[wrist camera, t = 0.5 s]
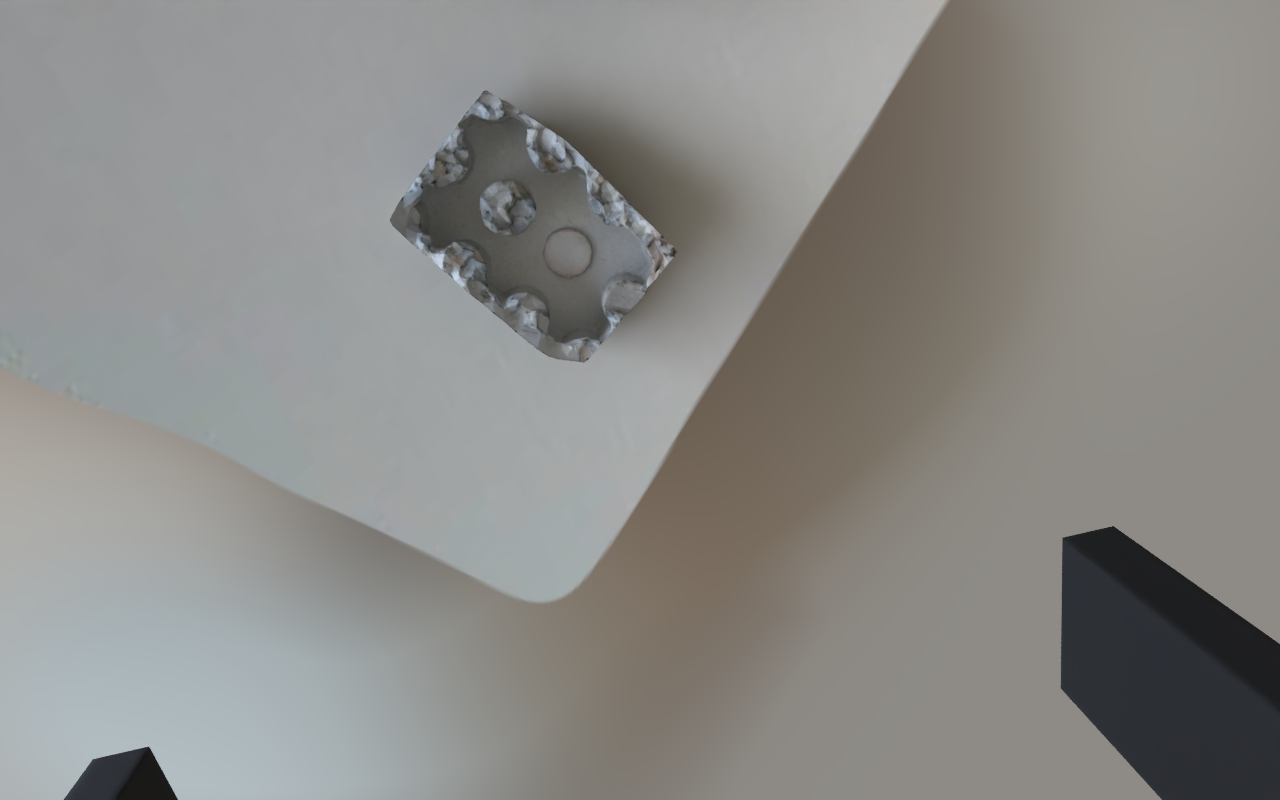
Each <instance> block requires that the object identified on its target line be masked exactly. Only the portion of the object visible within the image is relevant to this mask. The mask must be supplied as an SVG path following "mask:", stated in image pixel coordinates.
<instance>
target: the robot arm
mask: <svg viewBox="0 0 1280 800" xmlns="http://www.w3.org/2000/svg"><path fill="white" fill-rule="evenodd" d="M1062 555H1063V556H1062V637H1061V638H1062V639H1061V640H1062V642H1061V643H1062V645H1061V689H1062V690H1063V691H1064V692H1065V693H1066V694H1067V696H1068V697H1069V698H1070V699H1071V700H1072V701H1073V702H1074V703H1075V704H1076V705H1077V707H1078V708H1079V709H1080V710H1081V711H1082V712H1083V713H1084V714H1085V715H1086V716H1087V718H1088V719H1089V720H1090V721H1091V722H1092V723H1093V724H1094V725H1095V726H1096V727H1097V729H1098V730H1099V731H1100V732H1101V733H1102V734H1103V735H1104V736H1105V737H1106V738H1107V740H1108V741H1109V742H1110V743H1111V744H1112V745H1113V746H1114V747H1115V748H1116V749H1117V751H1118V752H1119V753H1120V754H1121V755H1122V756H1123V757H1124V758H1125V759H1126V760H1127V762H1128V763H1129V764H1130V765H1131V766H1132V767H1133V768H1134V769H1135V770H1136V771H1137V773H1138V774H1139V775H1140V776H1141V777H1142V778H1143V779H1144V780H1145V781H1146V782H1147V783H1148V785H1149V786H1150V787H1151V788H1152V789H1153V790H1154V791H1155V792H1156V793H1157V795H1158V796H1160V798H1161V799H1162V800H1280V644H1279V643H1277V642H1276V641H1275V640H1273V639H1272V638H1270V637H1269V636H1268V635H1266V634H1265V633H1263V632H1262V631H1260V630H1259V629H1258V628H1256V627H1255V626H1253V625H1252V624H1250V623H1249V622H1248V621H1246V620H1245V619H1243V618H1242V617H1241V616H1239V615H1238V614H1236V613H1235V612H1234V611H1232V610H1231V609H1229V608H1228V607H1227V606H1225V605H1224V604H1222V603H1221V602H1220V601H1218V600H1217V599H1215V598H1214V597H1213V596H1211V595H1210V594H1208V593H1207V592H1205V591H1204V590H1202V589H1201V588H1200V587H1198V586H1197V585H1196V584H1194V583H1193V582H1191V581H1190V580H1188V579H1187V578H1186V577H1184V576H1183V575H1181V574H1180V573H1179V572H1177V571H1176V570H1174V569H1173V568H1172V567H1170V566H1169V565H1167V564H1166V563H1164V562H1163V561H1161V560H1160V559H1159V558H1158V557H1156V556H1155V555H1153V554H1152V553H1150V552H1149V551H1148V550H1146V549H1145V548H1143V547H1142V546H1141V545H1139V544H1138V543H1136V542H1135V541H1134V540H1132V539H1130V538H1129V537H1128V536H1126V535H1125V534H1124V533H1122V532H1121V531H1119V530H1118V529H1116V528H1115V527H1114V526H1112V527H1108V528H1104V529H1099V530H1095V531H1090V532H1086V533H1082V534H1077V535H1073V536H1069V537H1065V538H1063V553H1062ZM64 800H178V799H177V797H176V795H175V793H174V792H173V790H172V788H171V786H170V784H169V782H168V781H167V779H166V777H165V775H164V773H163V771H162V770H161V768H160V766H159V764H158V762H157V761H156V759H155V757H154V755H153V753H152V751H151V749H150V748H149V747H145V748H141V749H137V750H132V751H128V752H124V753H119V754H115V755H110V756H106V757H102V758H97V759H93V760H92V762H91V763H90V764H89V766H88V767H87V768H86V770H85V771H84V773H83V774H82V775H81V777H80V778H79V780H78V781H77V782H76V784H75V785H74V786H73V788H72V789H71V790H70V792H69V793H68V795H67V796H66V797H65V799H64Z"/></svg>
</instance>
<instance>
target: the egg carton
mask: <svg viewBox="0 0 1280 800" xmlns="http://www.w3.org/2000/svg"><path fill="white" fill-rule="evenodd" d="M390 221H391V223H392V225H393V226H394V227H395V228H396V229H397V230H398V231H399V232H400V233H401V234H402V235H403V236H404V237H405V238H406V239H407V240H408V241H410V242H411V243H412V244H413V245H414V246H415V247H416V248H417V249H419V250H420V251H421V252H422V253H423V254H425V255H426V256H428V257H429V258H430V259H431V260H432V261H434V262H435V263H436V264H437V265H438V266H439V267H440V268H441V269H442V270H443V271H444V272H446V273H447V274H449V275H450V276H451V277H452V278H453V279H454V280H455V281H456V282H458V283H459V284H460V286H461V287H462V288H464V289H465V290H466V291H467V292H468V293H469V294H471V295H472V296H473V297H475V298H476V299H477V300H479V301H480V302H481V303H483V304H484V305H485V306H486V307H487V308H488V309H489V310H491V311H492V312H493V313H494V314H495V315H496V316H498V317H499V318H500V319H502V320H503V321H504V322H506V323H507V324H508V325H509V326H510V327H511V328H512V329H513V330H514V331H515V332H517V333H518V334H519V335H520V336H522V337H523V338H524V339H525V340H527V341H528V342H529V343H530V344H531V345H533V346H534V347H535V348H536V349H538V350H539V351H541V352H543V353H544V354H546V355H547V356H549V357H553V358H556V359H562V360H570V361H578V362H585V361H586V360H588V359H589V358H590V357H591V355H592V354H593V353H594V352H595V351H596V350H597V348H598V347H599V346H600V344H601V343H602V342H603V341H604V340H605V339H606V338H607V337H608V336H609V334H610V333H611V332H612V331H613V330H614V329H615V327H616V326H617V325H618V323H619V322H620V321H621V320H622V319H623V317H624V316H625V315H626V314H628V313H629V311H630V310H631V309H632V308H633V307H634V306H635V305H636V304H637V303H638V301H639V300H640V299H641V298H642V297H643V296H644V294H645V293H646V292H645V291H646V289H647V288H648V287H649V286H650V285H651V284H652V283H653V281H654V280H655V279H656V278H657V277H658V275H659V274H660V273H661V272H662V271H663V270H664V269H665V267H666V266H667V265H668V264H669V262H670V261H671V260H672V259H673V258H674V257H675V255H676V253H677V251H675V249H674V248H673V246H672V245H671V244H670V243H669V242H668V241H667V240H666V239H665V238H664V237H663V236H662V235H661V234H660V233H659V232H658V231H657V230H656V229H655V228H653V227H652V225H650V224H649V222H648V221H647V220H645V219H644V218H643V217H642V216H641V215H640V214H639V213H638V212H637V211H636V210H635V209H634V208H633V207H632V206H631V205H630V204H629V203H628V202H627V201H626V200H625V198H624V197H623V196H622V195H621V194H620V193H619V192H618V191H617V190H616V189H615V188H614V187H613V186H612V185H611V184H610V183H609V182H608V181H607V180H605V179H604V178H603V177H602V176H601V175H600V174H599V173H598V172H597V171H596V170H595V169H594V168H593V167H592V166H591V165H590V164H589V163H588V162H587V161H586V160H585V158H584V157H583V156H582V155H580V154H579V153H578V152H577V151H576V150H575V149H574V148H573V147H572V146H571V145H570V144H569V143H568V142H566V141H565V140H564V139H563V138H561V137H560V136H558V135H557V134H555V133H554V132H552V131H551V130H549V129H548V128H546V127H545V126H543V125H542V124H540V123H539V122H537V121H536V120H534V119H532V118H531V117H529V116H527V115H526V114H524V113H522V112H521V111H519V110H518V109H516V108H515V107H514V106H512V105H511V104H509V103H508V102H506V101H504V100H501V99H499V98H498V97H496V96H495V95H493V94H491V93H490V92H488V91H484V92H483V93H482V94H481V96H480V97H479V98H478V99H477V100H476V102H475V103H474V104H473V105H472V107H471V108H470V109H469V110H468V112H467V113H466V114H465V116H464V117H463V118H462V120H461V121H460V122H459V124H458V126H457V127H456V129H455V130H454V131H453V132H452V134H451V135H450V136H449V137H448V138H447V139H446V140H445V142H444V143H443V144H442V146H441V147H440V148H439V150H438V151H437V153H436V154H435V155H434V157H433V158H432V159H431V160H430V162H429V163H428V164H427V166H426V167H425V168H424V170H423V171H422V172H421V174H420V175H419V176H418V177H417V179H415V180H414V182H413V183H412V185H411V186H410V188H409V189H408V190H407V192H406V193H405V195H404V196H403V198H402V199H401V201H400V202H399V204H398V205H397V207H396V209H395V211H394V213H393V215H392V217H391V218H390Z"/></svg>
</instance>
